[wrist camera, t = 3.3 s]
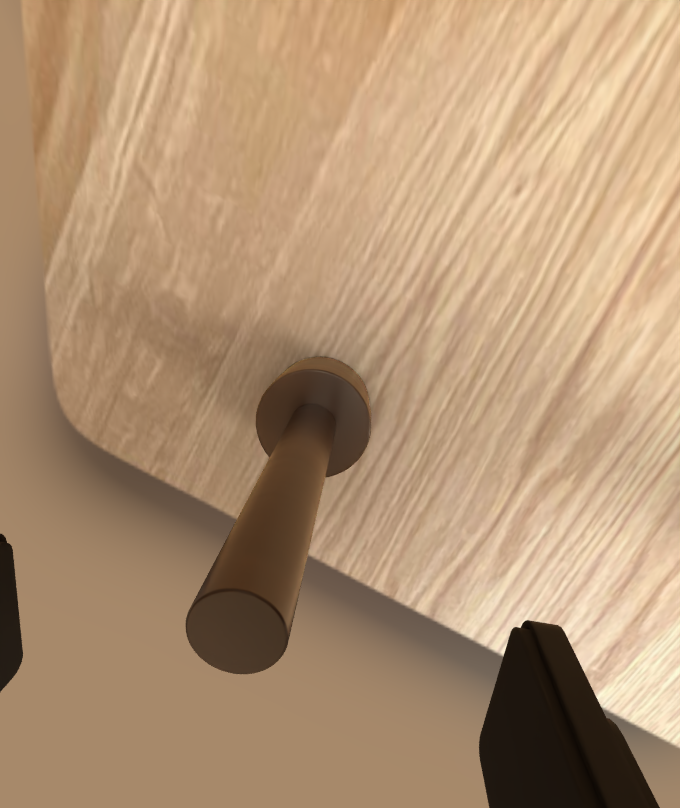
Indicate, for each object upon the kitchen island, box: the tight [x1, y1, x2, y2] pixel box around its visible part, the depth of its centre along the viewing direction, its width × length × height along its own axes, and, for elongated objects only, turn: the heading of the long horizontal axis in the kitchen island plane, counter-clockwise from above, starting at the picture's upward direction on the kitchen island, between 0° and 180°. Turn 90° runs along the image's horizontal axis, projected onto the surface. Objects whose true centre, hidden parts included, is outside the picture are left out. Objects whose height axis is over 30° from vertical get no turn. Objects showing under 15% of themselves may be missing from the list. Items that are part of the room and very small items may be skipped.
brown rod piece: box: [186, 357, 371, 674], centre depth 16 cm, size 5×5×15 cm
